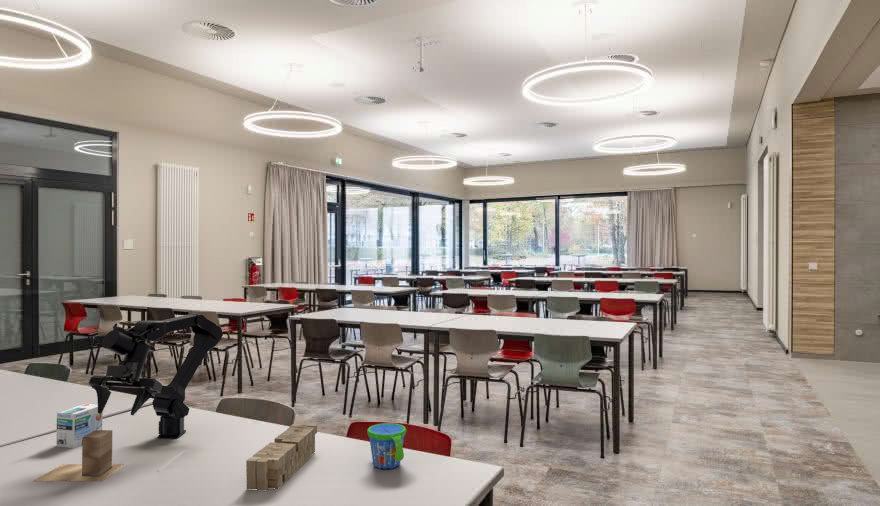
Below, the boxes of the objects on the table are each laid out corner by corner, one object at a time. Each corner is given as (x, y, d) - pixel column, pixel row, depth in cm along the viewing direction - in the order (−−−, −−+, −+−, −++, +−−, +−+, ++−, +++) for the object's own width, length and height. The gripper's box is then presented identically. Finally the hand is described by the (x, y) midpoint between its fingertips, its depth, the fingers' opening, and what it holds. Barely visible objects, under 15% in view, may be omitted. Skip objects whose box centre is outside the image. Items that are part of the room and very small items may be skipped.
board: (125, 467, 149) (125, 463, 149) (102, 484, 138) (102, 480, 138) (61, 467, 148) (61, 464, 148) (33, 484, 137) (33, 480, 137)
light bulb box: (74, 450, 161) (74, 414, 161) (54, 449, 162) (55, 412, 162) (103, 439, 171) (103, 404, 171) (85, 437, 173) (85, 403, 173)
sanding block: (111, 467, 146) (112, 430, 146) (99, 476, 141) (100, 437, 141) (94, 467, 146) (95, 430, 146) (81, 476, 141) (82, 437, 141)
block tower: (275, 496, 135) (318, 450, 164) (275, 462, 135) (318, 422, 163) (245, 493, 136) (293, 449, 165) (245, 460, 136) (293, 421, 165)
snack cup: (359, 458, 158) (360, 422, 158) (394, 452, 162) (394, 418, 162) (377, 478, 144) (378, 439, 144) (414, 472, 148) (415, 434, 148)
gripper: (88, 349, 155) (66, 404, 147) (153, 352, 155) (135, 408, 147) (108, 363, 165) (88, 415, 157) (169, 366, 165) (153, 418, 156)
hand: (115, 414), depth 154 cm, fingers open, 9 cm apart
